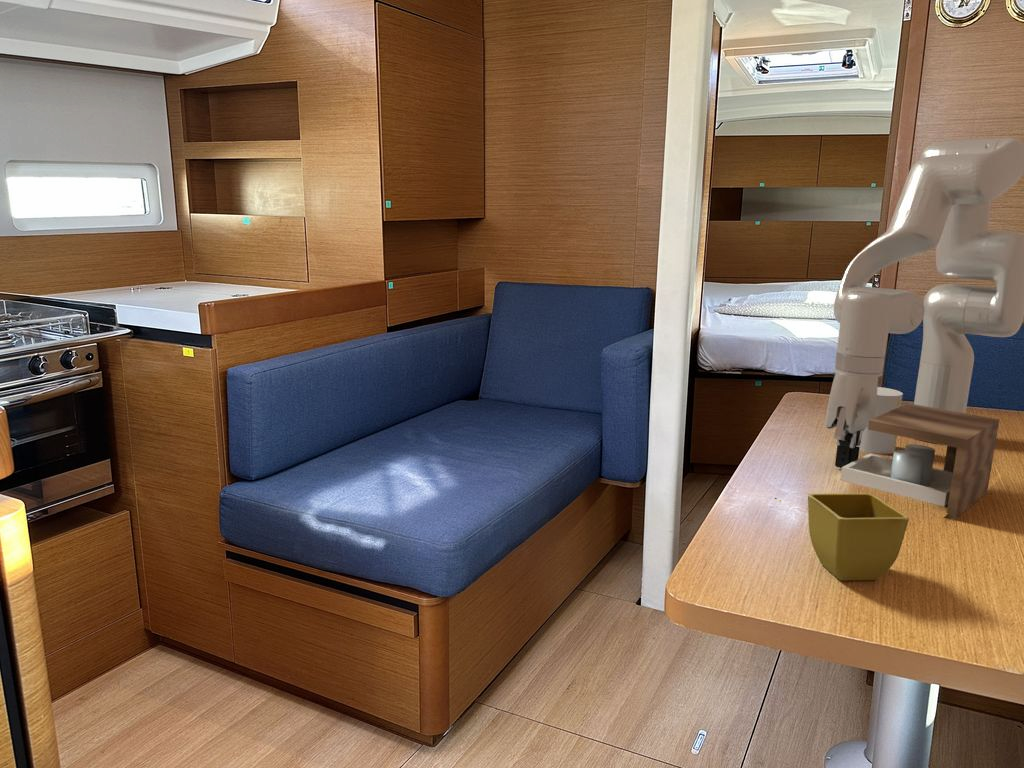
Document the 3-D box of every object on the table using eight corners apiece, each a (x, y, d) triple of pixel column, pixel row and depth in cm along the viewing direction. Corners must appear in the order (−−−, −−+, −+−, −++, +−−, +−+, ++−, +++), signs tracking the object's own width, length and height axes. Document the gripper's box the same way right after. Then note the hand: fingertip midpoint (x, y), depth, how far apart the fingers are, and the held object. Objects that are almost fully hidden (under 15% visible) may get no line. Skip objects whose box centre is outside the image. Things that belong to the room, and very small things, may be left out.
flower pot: (798, 557, 100) (806, 492, 98) (862, 556, 101) (871, 492, 99) (831, 589, 92) (840, 518, 90) (901, 588, 92) (911, 518, 91)
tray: (867, 469, 137) (869, 453, 137) (966, 493, 126) (969, 476, 126) (839, 484, 129) (841, 467, 128) (943, 511, 118) (946, 493, 117)
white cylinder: (899, 459, 144) (908, 397, 141) (853, 455, 145) (861, 394, 143) (887, 447, 152) (896, 388, 149) (844, 443, 153) (851, 385, 151)
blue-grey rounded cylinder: (894, 482, 128) (899, 448, 127) (922, 490, 125) (928, 454, 124) (884, 488, 125) (889, 453, 124) (913, 496, 122) (918, 460, 121)
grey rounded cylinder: (905, 476, 132) (910, 442, 130) (933, 483, 129) (938, 448, 127) (896, 481, 129) (901, 447, 127) (924, 488, 126) (929, 453, 124)
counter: (898, 471, 137) (907, 403, 134) (987, 492, 127) (999, 419, 125) (859, 494, 124) (869, 420, 121) (954, 520, 115) (967, 439, 112)
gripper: (854, 356, 138) (841, 454, 142) (818, 366, 128) (806, 471, 131) (898, 363, 133) (883, 464, 137) (864, 373, 122) (850, 482, 126)
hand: (845, 467), depth 134 cm, fingers closed
